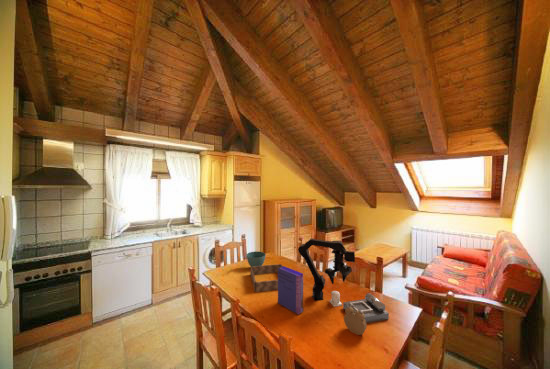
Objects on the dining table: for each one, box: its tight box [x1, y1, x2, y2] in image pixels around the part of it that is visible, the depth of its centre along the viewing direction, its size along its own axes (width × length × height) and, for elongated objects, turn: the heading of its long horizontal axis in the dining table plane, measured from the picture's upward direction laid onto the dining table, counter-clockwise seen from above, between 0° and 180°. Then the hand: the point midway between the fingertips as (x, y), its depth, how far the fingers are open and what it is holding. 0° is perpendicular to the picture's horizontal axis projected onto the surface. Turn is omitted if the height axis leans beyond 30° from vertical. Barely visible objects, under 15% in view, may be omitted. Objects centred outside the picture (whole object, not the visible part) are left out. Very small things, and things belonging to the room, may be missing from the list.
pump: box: [328, 290, 343, 307], centre depth 139 cm, size 6×8×7 cm
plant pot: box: [246, 250, 267, 267], centre depth 197 cm, size 18×18×12 cm
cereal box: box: [277, 265, 304, 315], centre depth 134 cm, size 17×5×24 cm, turn 45°
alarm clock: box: [343, 305, 368, 336], centre depth 110 cm, size 11×5×15 cm, turn 47°
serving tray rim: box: [249, 263, 283, 293], centre depth 169 cm, size 28×30×7 cm
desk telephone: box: [342, 292, 390, 324], centre depth 127 cm, size 20×16×9 cm
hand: (338, 282), depth 140 cm, fingers open, 9 cm apart
